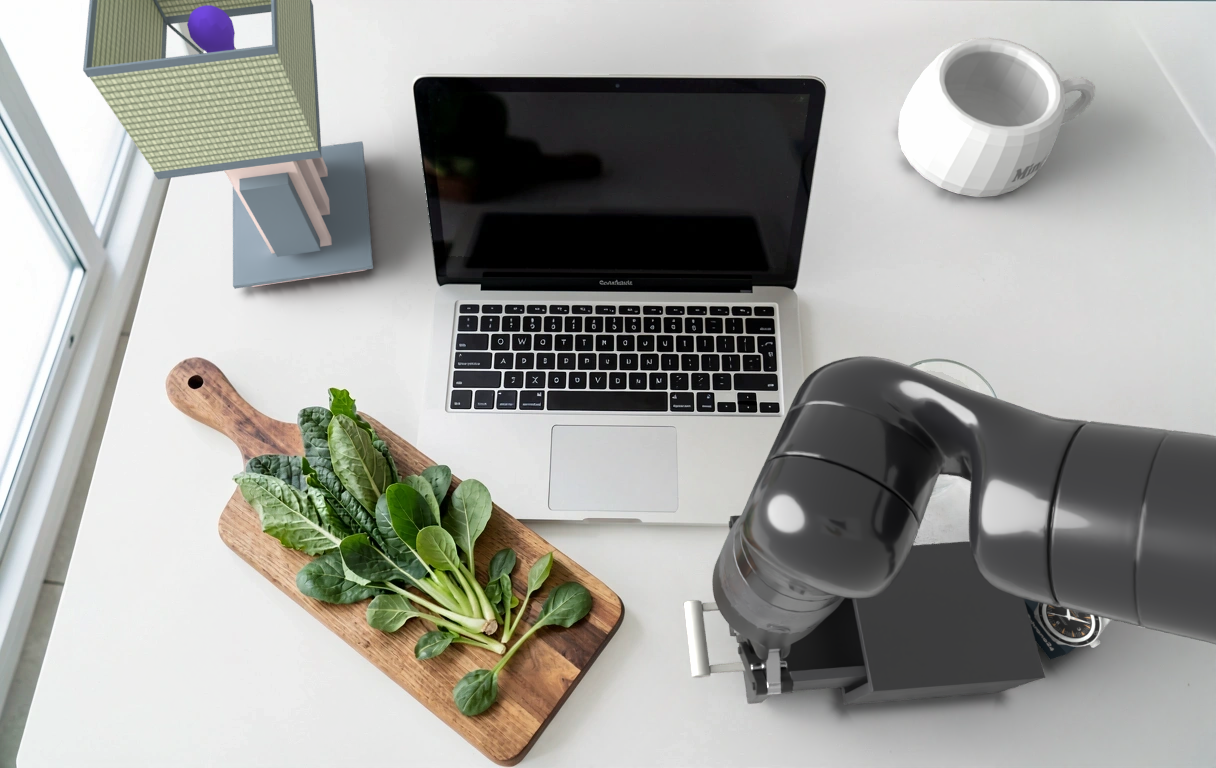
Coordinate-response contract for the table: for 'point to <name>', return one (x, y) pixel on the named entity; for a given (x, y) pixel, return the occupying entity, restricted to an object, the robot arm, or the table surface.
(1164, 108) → the table surface
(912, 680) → the grey square sleeve
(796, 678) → the drawer
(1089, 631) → the watch
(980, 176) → the mug
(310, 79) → the desk lamp
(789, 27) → the table surface
